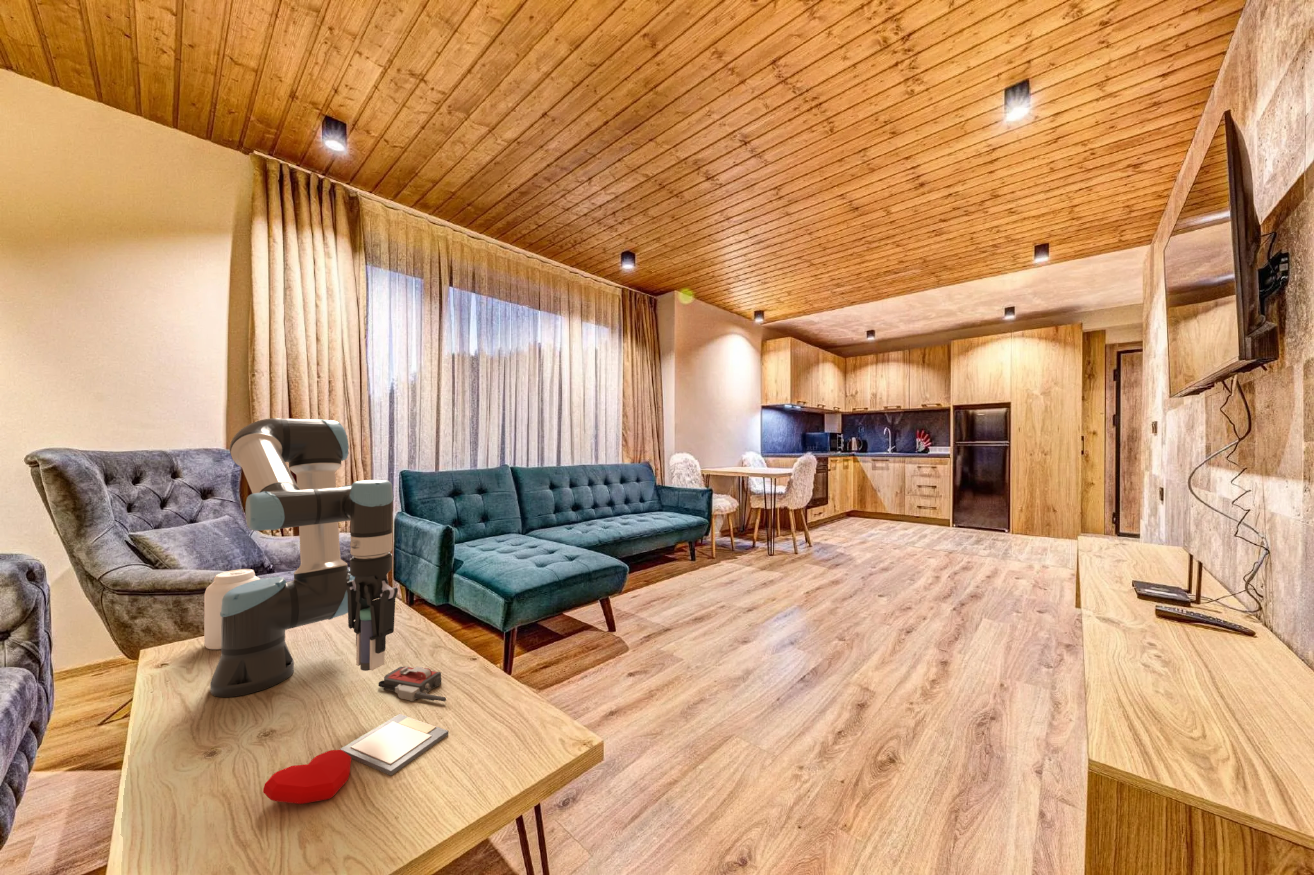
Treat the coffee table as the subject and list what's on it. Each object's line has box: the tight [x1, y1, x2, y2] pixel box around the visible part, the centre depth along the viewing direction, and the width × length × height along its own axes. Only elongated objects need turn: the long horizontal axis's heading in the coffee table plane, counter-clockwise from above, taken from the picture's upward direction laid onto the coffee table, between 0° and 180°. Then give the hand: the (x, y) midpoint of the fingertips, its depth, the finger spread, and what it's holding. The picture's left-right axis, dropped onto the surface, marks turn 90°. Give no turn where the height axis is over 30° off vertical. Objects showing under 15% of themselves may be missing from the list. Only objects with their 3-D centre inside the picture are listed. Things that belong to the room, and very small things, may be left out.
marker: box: [359, 607, 373, 672], centre depth 97 cm, size 4×4×12 cm
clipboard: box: [339, 713, 449, 776], centre depth 87 cm, size 14×12×1 cm
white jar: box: [203, 568, 261, 650], centre depth 133 cm, size 12×12×20 cm
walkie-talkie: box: [377, 666, 447, 702], centre depth 106 cm, size 9×4×20 cm
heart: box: [262, 749, 352, 805], centre depth 76 cm, size 12×4×10 cm
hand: (370, 664), depth 97 cm, fingers closed on marker, 4 cm apart
